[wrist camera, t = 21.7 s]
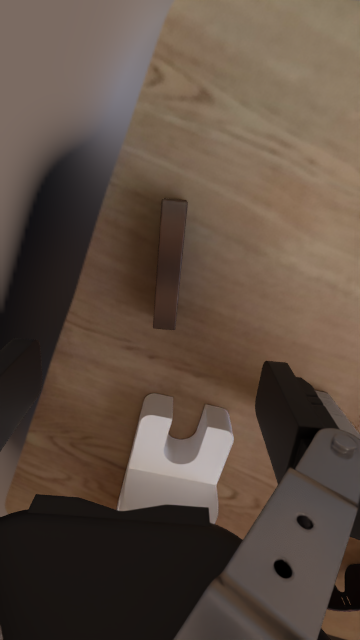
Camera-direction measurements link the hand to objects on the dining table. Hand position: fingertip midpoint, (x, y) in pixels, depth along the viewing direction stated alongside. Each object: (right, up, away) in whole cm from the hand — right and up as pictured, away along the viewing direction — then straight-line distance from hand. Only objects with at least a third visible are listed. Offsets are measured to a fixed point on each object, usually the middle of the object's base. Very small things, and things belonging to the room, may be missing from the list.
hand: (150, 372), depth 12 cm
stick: (0, +7, +19) cm, 20 cm away
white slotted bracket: (0, -15, +28) cm, 32 cm away
